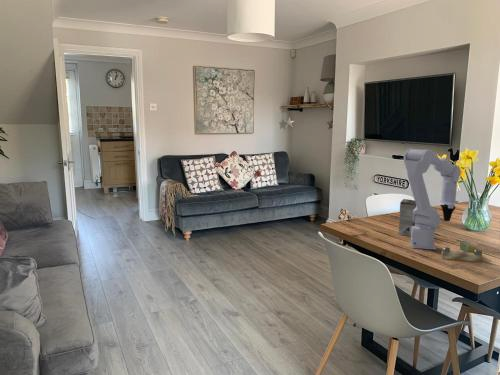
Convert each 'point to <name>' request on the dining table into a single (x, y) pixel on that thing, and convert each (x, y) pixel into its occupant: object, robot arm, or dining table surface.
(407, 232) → the coffee box
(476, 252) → the bench dogs
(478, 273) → the dining table surface
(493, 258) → the dining table surface
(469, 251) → the medication box
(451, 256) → the bench stop
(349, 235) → the dining table surface
